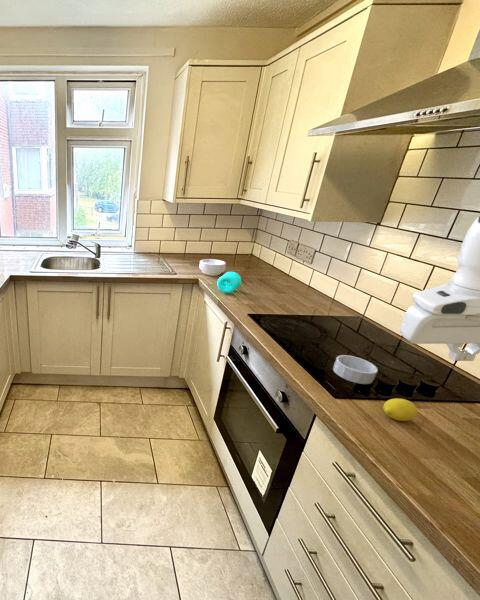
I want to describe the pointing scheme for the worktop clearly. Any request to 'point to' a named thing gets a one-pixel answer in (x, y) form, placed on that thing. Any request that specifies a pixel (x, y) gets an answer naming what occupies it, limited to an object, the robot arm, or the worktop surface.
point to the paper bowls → (212, 266)
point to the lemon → (400, 409)
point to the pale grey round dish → (355, 369)
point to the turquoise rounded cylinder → (225, 285)
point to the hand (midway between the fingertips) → (460, 359)
